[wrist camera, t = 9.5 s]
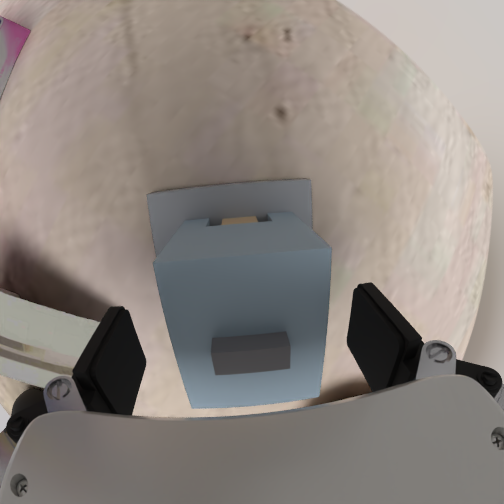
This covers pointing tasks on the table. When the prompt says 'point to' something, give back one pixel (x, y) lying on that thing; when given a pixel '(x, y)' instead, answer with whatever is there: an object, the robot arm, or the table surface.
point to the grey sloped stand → (39, 340)
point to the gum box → (10, 47)
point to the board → (227, 205)
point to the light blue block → (246, 309)
